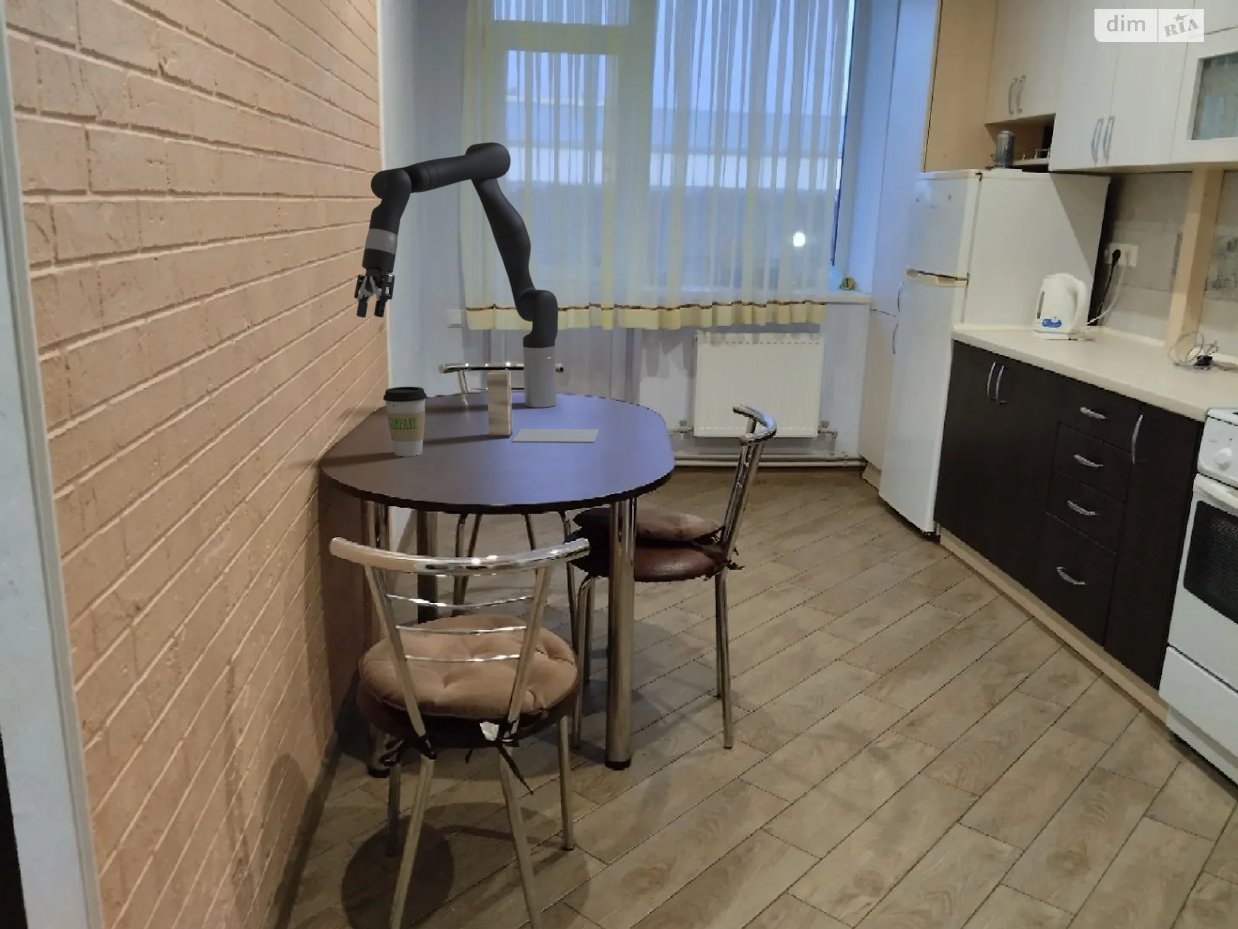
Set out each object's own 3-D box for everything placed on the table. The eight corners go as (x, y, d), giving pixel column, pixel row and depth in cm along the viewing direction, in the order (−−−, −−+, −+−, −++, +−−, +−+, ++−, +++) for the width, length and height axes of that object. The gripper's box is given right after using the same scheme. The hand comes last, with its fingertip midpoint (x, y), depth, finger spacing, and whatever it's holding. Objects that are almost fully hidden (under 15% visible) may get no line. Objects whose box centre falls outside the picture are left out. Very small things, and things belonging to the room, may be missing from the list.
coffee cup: (378, 454, 225) (373, 390, 222) (413, 446, 232) (409, 384, 229) (403, 460, 219) (399, 394, 215) (438, 453, 226) (435, 389, 222)
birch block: (493, 433, 246) (490, 370, 243) (512, 433, 246) (510, 370, 242) (489, 437, 242) (486, 373, 238) (509, 438, 241) (506, 373, 237)
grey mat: (521, 430, 250) (521, 428, 250) (598, 430, 249) (598, 429, 249) (512, 442, 237) (512, 440, 237) (593, 442, 236) (593, 441, 236)
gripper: (409, 253, 234) (398, 320, 234) (379, 256, 244) (368, 320, 244) (381, 245, 229) (370, 313, 229) (352, 248, 239) (341, 313, 239)
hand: (369, 316), depth 237 cm, fingers open, 8 cm apart
